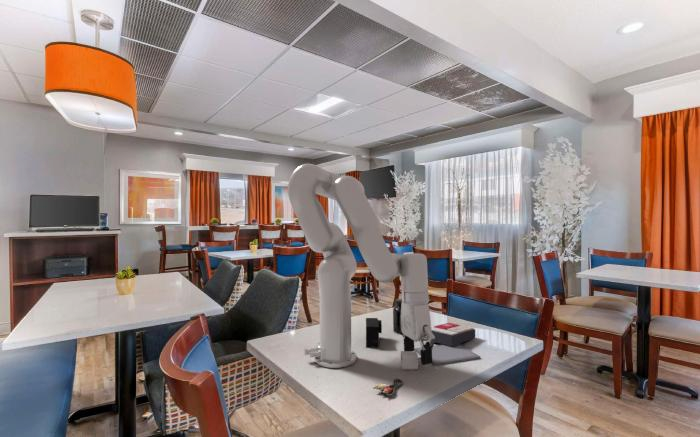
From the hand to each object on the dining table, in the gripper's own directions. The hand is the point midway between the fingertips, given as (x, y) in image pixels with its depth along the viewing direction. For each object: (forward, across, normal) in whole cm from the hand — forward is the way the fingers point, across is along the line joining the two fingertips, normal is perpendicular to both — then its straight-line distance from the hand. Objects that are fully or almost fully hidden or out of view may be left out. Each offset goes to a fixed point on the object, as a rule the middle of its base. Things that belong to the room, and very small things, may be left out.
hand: (417, 357), depth 93 cm
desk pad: (+3, -6, +13) cm, 15 cm away
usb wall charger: (+3, -1, -1) cm, 3 cm away
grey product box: (+3, -16, +22) cm, 27 cm away
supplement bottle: (+3, -30, +10) cm, 31 cm away
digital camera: (+3, -23, -4) cm, 23 cm away
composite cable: (+3, +9, -12) cm, 16 cm away
